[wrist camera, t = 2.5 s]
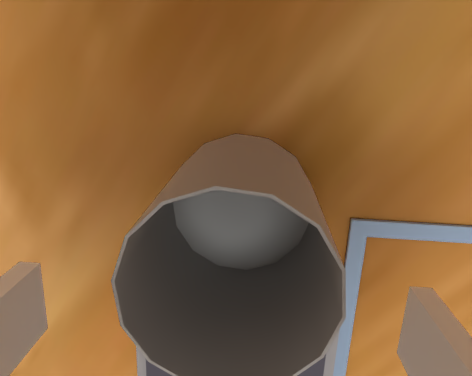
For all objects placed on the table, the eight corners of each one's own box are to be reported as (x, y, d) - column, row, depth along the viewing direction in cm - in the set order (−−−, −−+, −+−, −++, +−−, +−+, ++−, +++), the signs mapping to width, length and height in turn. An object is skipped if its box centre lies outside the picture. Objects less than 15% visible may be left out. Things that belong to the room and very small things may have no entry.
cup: (199, 278, 25) (160, 409, 16) (152, 159, 23) (74, 227, 13) (328, 245, 24) (371, 366, 14) (291, 115, 22) (314, 156, 12)
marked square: (350, 218, 23) (352, 220, 23) (578, 232, 23) (582, 234, 22) (326, 391, 27) (327, 395, 27) (519, 407, 26) (522, 411, 26)
